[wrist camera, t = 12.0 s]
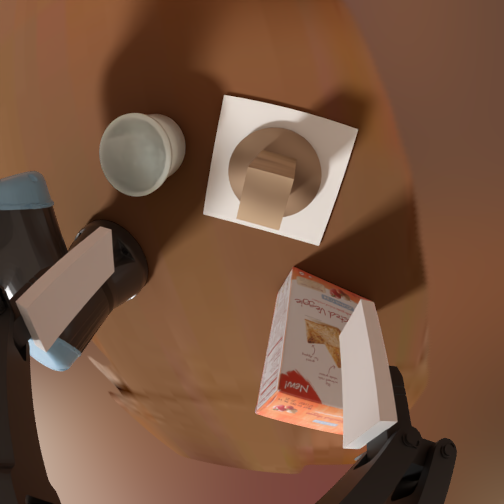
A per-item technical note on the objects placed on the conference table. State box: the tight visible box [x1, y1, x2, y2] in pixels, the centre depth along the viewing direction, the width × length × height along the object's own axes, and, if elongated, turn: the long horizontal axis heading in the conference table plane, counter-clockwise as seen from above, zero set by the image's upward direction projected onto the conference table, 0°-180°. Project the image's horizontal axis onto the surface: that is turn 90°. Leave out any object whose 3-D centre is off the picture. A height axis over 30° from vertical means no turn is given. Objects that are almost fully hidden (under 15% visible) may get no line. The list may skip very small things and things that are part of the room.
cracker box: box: [255, 267, 372, 435], centre depth 32 cm, size 14×6×21 cm, turn 69°
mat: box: [203, 95, 358, 246], centre depth 33 cm, size 16×16×1 cm
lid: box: [228, 127, 322, 230], centre depth 28 cm, size 11×11×10 cm
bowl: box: [99, 113, 185, 197], centre depth 31 cm, size 10×10×6 cm
